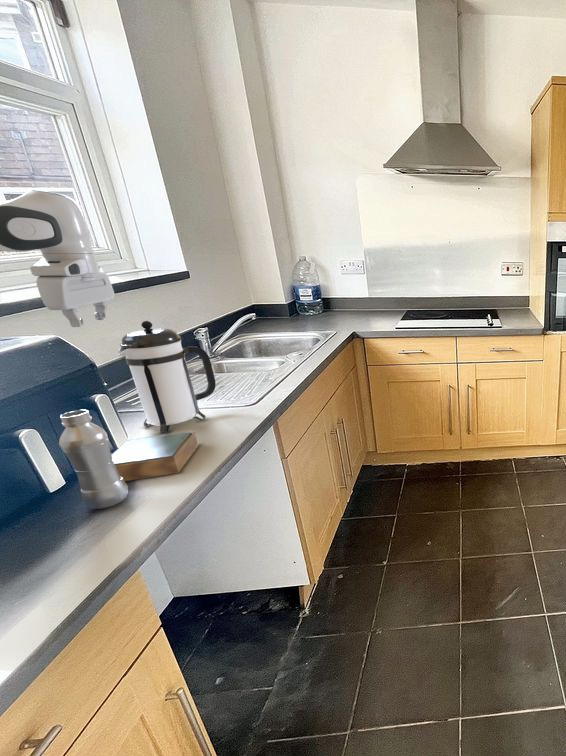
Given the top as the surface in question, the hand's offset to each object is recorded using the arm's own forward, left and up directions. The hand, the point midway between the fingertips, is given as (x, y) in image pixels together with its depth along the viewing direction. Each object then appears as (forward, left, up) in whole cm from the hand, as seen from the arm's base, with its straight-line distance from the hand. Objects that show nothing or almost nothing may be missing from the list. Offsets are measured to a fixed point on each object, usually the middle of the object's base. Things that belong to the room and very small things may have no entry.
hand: (90, 322), depth 104 cm
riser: (+13, -22, -31) cm, 40 cm away
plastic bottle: (+11, -38, -31) cm, 50 cm away
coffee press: (+10, +5, -31) cm, 33 cm away
